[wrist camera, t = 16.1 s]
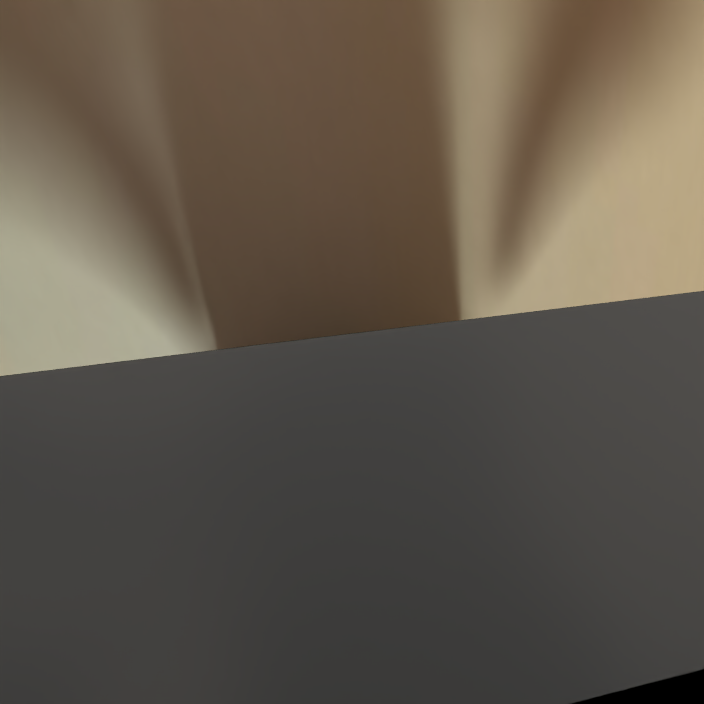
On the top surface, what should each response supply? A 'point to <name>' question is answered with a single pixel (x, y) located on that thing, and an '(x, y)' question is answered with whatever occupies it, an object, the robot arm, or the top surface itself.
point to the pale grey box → (365, 517)
